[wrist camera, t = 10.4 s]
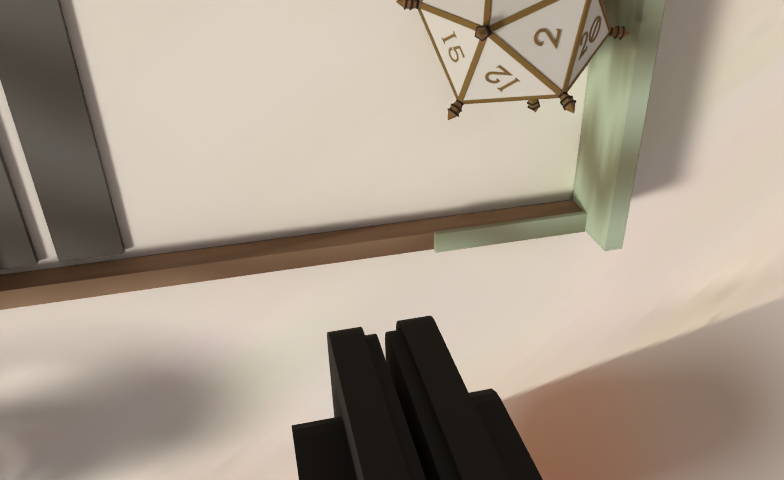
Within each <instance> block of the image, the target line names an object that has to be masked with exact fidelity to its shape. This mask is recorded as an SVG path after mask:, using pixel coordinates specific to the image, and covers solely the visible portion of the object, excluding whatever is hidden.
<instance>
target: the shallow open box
mask: <svg viewBox="0 0 784 480" xmlns="http://www.w3.org/2000/svg"><path fill="white" fill-rule="evenodd" d="M665 1H666V0H603V3H604V6H605V9H606V13H607V16H608V19H609V22H610V25H611V27H612V28H614V27H616V26H619V27H623V26H625V29H626V30H627V31H628V32H629V33H630V35H628V36H626V37H624V38H622V39H621V40H619V38H616V39H614V37H612V36H608V37H607V38H606V40H605V41H604V43H603V44H602V45H601V47H600V48H599V49H598V51H597V52H596V54H595V55H594V56H593V58H592V59H591V60H590V65H589V73H588V81H587V89H586V97H585V105H584V113H583V120H582V128H581V136H580V144H579V152H578V160H577V168H576V176H575V184H574V192H573V199H572V200H568V201H560V202H553V203H545V204H537V205H530V206H522V207H515V208H507V209H500V210H492V211H484V212H477V213H469V214H462V215H454V216H446V217H439V218H431V219H424V220H416V221H409V222H401V223H393V224H386V225H378V226H371V227H363V228H355V229H348V230H340V231H333V232H325V233H318V234H310V235H302V236H295V237H287V238H280V239H272V240H264V241H257V242H249V243H242V244H234V245H227V246H219V247H211V248H204V249H196V250H189V251H181V252H173V253H166V254H158V255H151V256H143V257H136V258H128V259H120V260H113V261H105V262H98V263H90V264H82V265H75V266H67V267H60V268H52V269H44V270H37V271H29V272H22V273H14V274H7V275H0V310H2V309H9V308H17V307H24V306H31V305H38V304H45V303H52V302H59V301H66V300H74V299H81V298H88V297H95V296H102V295H109V294H116V293H123V292H131V291H138V290H145V289H152V288H159V287H166V286H173V285H180V284H188V283H195V282H202V281H209V280H216V279H223V278H230V277H237V276H245V275H252V274H259V273H266V272H273V271H280V270H287V269H294V268H302V267H309V266H316V265H323V264H330V263H337V262H344V261H351V260H359V259H366V258H373V257H380V256H387V255H394V254H401V253H408V252H416V251H423V250H430V249H434V250H435V252H443V251H450V250H457V249H465V248H472V247H479V246H486V245H493V244H500V243H507V242H514V241H521V240H528V239H535V238H542V237H549V236H556V235H564V234H571V233H578V232H585V231H586V232H587V233H588V234H589V235H590V236H591V237H592V238H593V239H594V241H595V242H596V243H597V244H598V245H599V246H600V247H601V248H602V249H603V250H604V251H608V250H615V249H621V248H622V246H623V240H624V235H625V229H626V223H627V218H628V212H629V206H630V201H631V195H632V189H633V183H634V178H635V172H636V166H637V161H638V155H639V149H640V144H641V138H642V132H643V126H644V121H645V115H646V109H647V104H648V98H649V92H650V87H651V81H652V75H653V69H654V64H655V58H656V52H657V47H658V41H659V35H660V30H661V24H662V18H663V13H664V7H665ZM0 80H1V83H2V86H3V89H4V92H5V95H6V99H7V102H8V105H9V108H10V111H11V114H12V117H13V120H14V123H15V126H16V130H17V133H18V136H19V139H20V142H21V145H22V148H23V151H24V154H25V157H26V161H27V164H28V167H29V170H30V173H31V176H32V179H33V182H34V185H35V188H36V192H37V195H38V198H39V201H40V204H41V207H42V210H43V213H44V216H45V219H46V223H47V226H48V229H49V232H50V235H51V238H52V241H53V244H54V247H55V250H56V254H57V257H58V260H59V262H60V261H68V260H76V259H83V258H91V257H99V256H106V255H114V254H122V253H124V251H125V250H124V246H123V242H122V238H121V234H120V230H119V227H118V223H117V219H116V215H115V211H114V208H113V204H112V200H111V196H110V192H109V188H108V185H107V181H106V177H105V173H104V169H103V166H102V162H101V158H100V154H99V150H98V146H97V143H96V139H95V135H94V131H93V127H92V123H91V120H90V116H89V112H88V108H87V104H86V101H85V97H84V93H83V89H82V85H81V81H80V78H79V74H78V70H77V66H76V62H75V58H74V55H73V51H72V47H71V43H70V39H69V36H68V32H67V28H66V24H65V20H64V16H63V13H62V9H61V5H60V1H59V0H0ZM37 263H38V259H37V256H36V253H35V250H34V247H33V244H32V241H31V238H30V235H29V232H28V230H27V227H26V224H25V221H24V218H23V215H22V212H21V209H20V206H19V203H18V200H17V197H16V194H15V191H14V188H13V185H12V183H11V180H10V177H9V174H8V171H7V168H6V165H5V162H4V159H3V156H2V153H1V150H0V269H6V268H14V267H22V266H29V265H37Z"/></svg>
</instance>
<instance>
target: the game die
mask: <svg viewBox="0 0 784 480" xmlns="http://www.w3.org/2000/svg"><path fill="white" fill-rule="evenodd" d="M396 2H397V3H398V4H400V5H401V6H402V7H403V8H404V10H405V9H406V8H407V9H410V10H411V9H413V8H416V9H418V11H419V13H420V15H421V18H422V20H423V22H424V25H425V27H426V29H427V32H428V34H429V36H430V39H431V41H432V43H433V46H434V48H435V50H436V53H437V55H438V57H439V60H440V62H441V64H442V66H443V69H444V71H445V73H446V76H447V78H448V80H449V83H450V85H451V87H452V90H453V92H454V94H455V97H456V99H457V100H456V102H455V103H454V104H451V107H450V108H449V109H447V110H448V120H450V119H452V118H454V117H456V116H458V117H459V113H460V111H461V112H462V110H461V109H462V106H463V105H464V104H473V103H489V102H504V101H519V100H528V102H527V104H528V105H529V106H528V108H530V109H532V110H533V111H534V112H536V111H537V109H538V108H539V107H540V104H539V101H538V99H549V98H560V99H561V101H560V103H561V105H562V106H563V108H564V110H567V111H570V112H572V113H574V111H575V103H576V100H573V96H570V95H568V93H567V92H568V91H569V89H570V88H571V86H572V85H573V84H574V82H575V81H576V80H577V78H578V77H579V76H580V74H581V73H582V71H583V70H584V69H585V67H586V66H587V65H588V63H589V62H590V60H591V59H592V58H593V56H594V55H595V54H596V52H597V51H598V49H599V48H600V47H601V45H602V44H603V43H604V41H605V40H606V38H607V37H608V36H612V37H614V39H616V38H619V40H621V39H622V38H624V37H626V36H628V35H630V33H629V32H628V31H627V30H626V29H625V26H623V27H619V26H616V27H614V28H612V27H611V25H610V22H609V19H608V16H607V13H606V9H605V6H604V3H603V0H397V1H396Z"/></svg>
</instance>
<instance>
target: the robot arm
mask: <svg viewBox="0 0 784 480" xmlns="http://www.w3.org/2000/svg"><path fill="white" fill-rule="evenodd" d="M327 341H328V353H329V364H330V374H331V385H332V396H333V407H334V418H330V419H324V420H319V421H314V422H308V423H303V424H297V425H292V432H293V439H294V447H295V454H296V461H297V468H298V476H299V480H543V479H542V477H541V475H540V474H539V472H538V470H537V468H536V466H535V464H534V462H533V460H532V458H531V457H530V454H529V452H528V451H527V449H526V447H525V445H524V443H523V441H522V439H521V437H520V435H519V433H518V431H517V430H516V428H515V426H514V424H513V422H512V420H511V418H510V416H509V414H508V412H507V410H506V408H505V407H504V404H503V403H502V401H501V399H500V397H499V396H498V394H497V393H496V392H495V391H494V390H493V389H487V390H482V391H476V392H471V393H468V391H467V389H466V386H465V384H464V382H463V380H462V378H461V376H460V374H459V372H458V369H457V367H456V365H455V363H454V361H453V359H452V357H451V354H450V352H449V350H448V348H447V346H446V344H445V342H444V340H443V337H442V335H441V333H440V331H439V329H438V327H437V325H436V322H435V320H434V319H433V317H432V316H425V317H419V318H413V319H406V320H400V321H397V324H396V330H395V331H389V332H386V334H385V349H386V360H385V357H384V354H383V351H382V348H381V345H380V342H379V339H378V337H377V335H376V334H371V335H365V334H364V331H363V329H362V327H357V328H351V329H344V330H338V331H332V332H328V333H327Z"/></svg>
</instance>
